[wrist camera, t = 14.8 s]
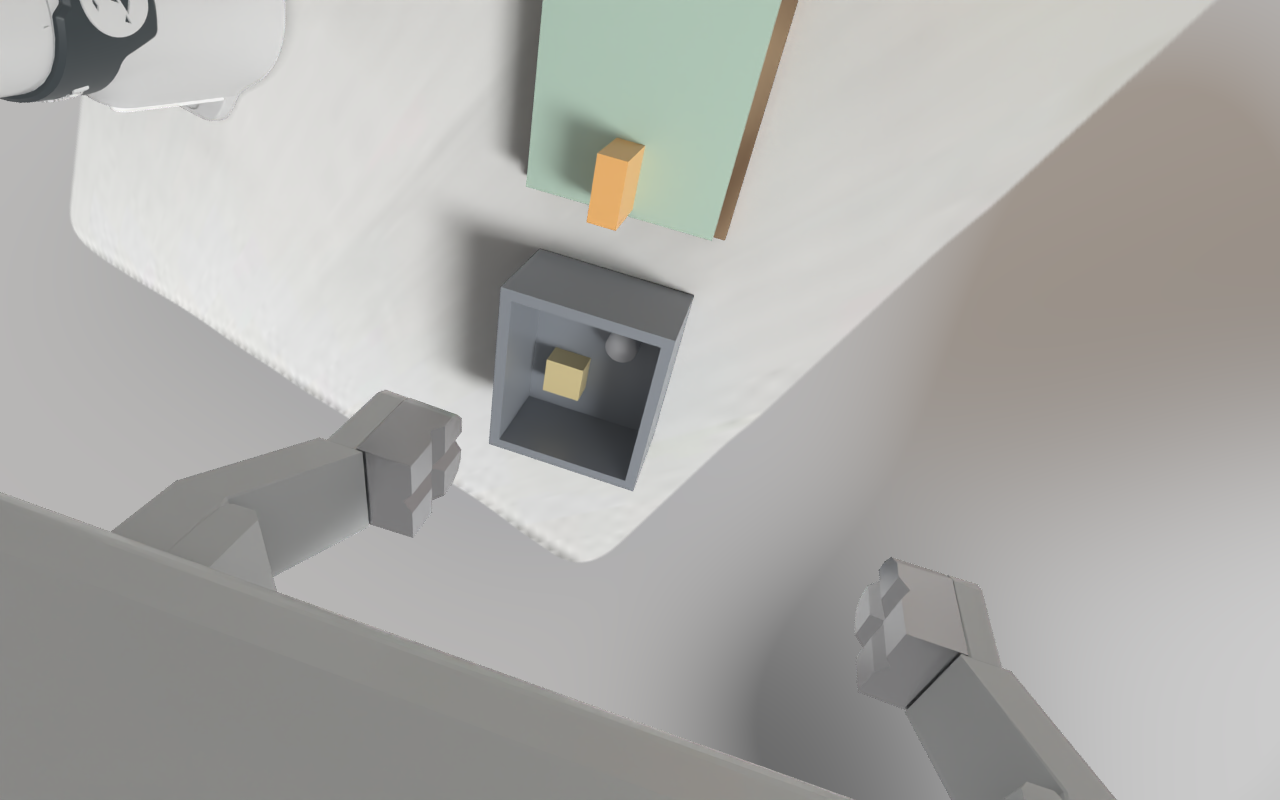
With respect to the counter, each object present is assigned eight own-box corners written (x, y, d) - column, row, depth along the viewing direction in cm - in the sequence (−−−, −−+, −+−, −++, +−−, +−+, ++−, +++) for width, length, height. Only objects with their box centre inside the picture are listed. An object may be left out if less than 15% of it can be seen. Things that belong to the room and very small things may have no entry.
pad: (534, 178, 43) (528, 182, 42) (563, -113, 34) (556, -116, 33) (726, 235, 42) (724, 240, 41) (813, -49, 33) (812, -50, 32)
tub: (523, 395, 54) (488, 443, 49) (539, 248, 46) (500, 286, 40) (652, 437, 54) (633, 491, 48) (694, 295, 45) (675, 341, 40)
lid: (538, 177, 42) (500, 204, 37) (565, -92, 33) (520, -103, 28) (716, 229, 41) (701, 264, 36) (792, -34, 32) (786, -35, 27)
